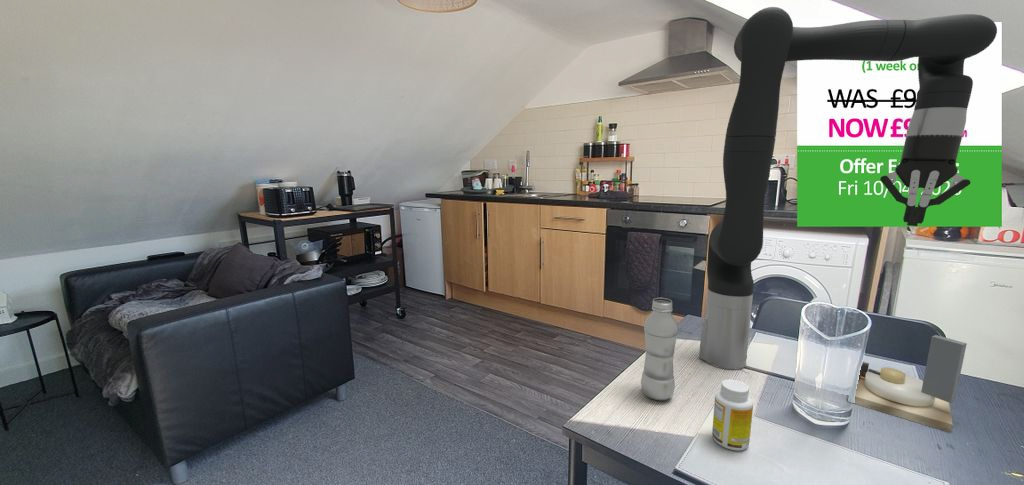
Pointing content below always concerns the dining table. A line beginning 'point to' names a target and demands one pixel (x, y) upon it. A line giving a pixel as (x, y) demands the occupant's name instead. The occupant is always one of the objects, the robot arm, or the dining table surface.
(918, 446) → the dining table surface
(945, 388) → the dial
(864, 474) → the dining table surface
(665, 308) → the plastic bottle
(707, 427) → the dining table surface
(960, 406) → the dining table surface
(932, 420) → the level stand
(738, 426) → the supplement bottle
